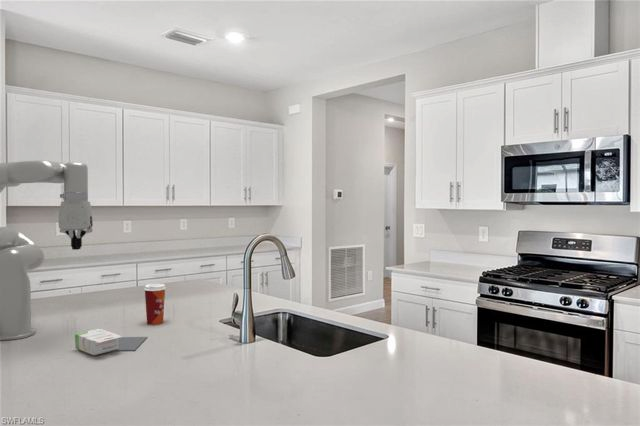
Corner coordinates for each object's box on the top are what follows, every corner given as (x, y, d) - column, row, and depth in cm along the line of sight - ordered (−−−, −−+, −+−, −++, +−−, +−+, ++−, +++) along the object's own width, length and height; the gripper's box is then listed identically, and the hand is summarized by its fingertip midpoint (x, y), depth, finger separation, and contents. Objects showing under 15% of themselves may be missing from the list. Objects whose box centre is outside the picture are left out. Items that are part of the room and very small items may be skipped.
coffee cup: (161, 325, 179) (161, 287, 178) (140, 325, 179) (140, 287, 178) (169, 320, 187) (169, 283, 186) (149, 319, 187) (148, 283, 187)
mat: (86, 351, 148) (86, 350, 148) (103, 338, 162) (103, 337, 162) (135, 350, 149) (135, 349, 149) (147, 337, 163) (147, 336, 163)
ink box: (74, 348, 150) (97, 358, 141) (74, 333, 150) (97, 342, 141) (100, 342, 157) (124, 351, 148) (100, 327, 156) (124, 335, 147)
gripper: (48, 197, 159) (49, 250, 159) (93, 197, 160) (94, 250, 161) (59, 197, 166) (59, 248, 167) (102, 197, 168) (102, 248, 168)
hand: (76, 249), depth 164 cm, fingers closed
